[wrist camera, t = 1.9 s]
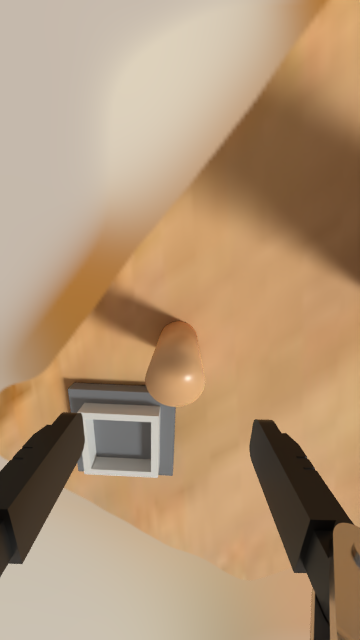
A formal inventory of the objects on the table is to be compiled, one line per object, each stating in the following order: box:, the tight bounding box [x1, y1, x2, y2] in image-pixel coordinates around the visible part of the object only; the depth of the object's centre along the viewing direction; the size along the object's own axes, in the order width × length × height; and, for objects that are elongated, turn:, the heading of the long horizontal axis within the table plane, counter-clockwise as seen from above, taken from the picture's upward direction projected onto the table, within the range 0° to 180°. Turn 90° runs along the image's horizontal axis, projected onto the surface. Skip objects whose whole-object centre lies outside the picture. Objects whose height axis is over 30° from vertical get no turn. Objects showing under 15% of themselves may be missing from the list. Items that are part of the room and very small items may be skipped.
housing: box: [68, 383, 176, 478], centre depth 22 cm, size 12×12×3 cm
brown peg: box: [145, 321, 205, 407], centre depth 16 cm, size 4×4×8 cm
